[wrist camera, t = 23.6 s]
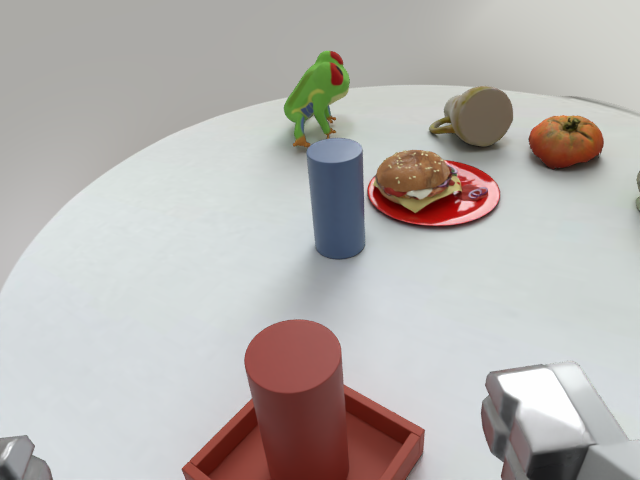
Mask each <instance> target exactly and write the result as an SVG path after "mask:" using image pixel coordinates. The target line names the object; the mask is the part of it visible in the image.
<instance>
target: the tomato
mask: <svg viewBox="0 0 640 480" xmlns="http://www.w3.org/2000/svg"><path fill="white" fill-rule="evenodd" d="M528 140H529V142H530V143H529V145H530V147H531V149H532V152H533V153H534V155H536V156H537V157H539V158H541V160H542V161H543V162H544V163H545V165H546V166H547V167H550V168H551V169H555V167H556V168H564V167H568V166H571V165H573V164H576V163H579V162H581V163H582V162H587V161H589V159H590V160H591V159H592V158H594V157H595V156H597V155H599V153H600V154H601V151H602V148H603V144H604V141H603V137H602V133H601V131H600V130H599V128H598V127H597V126H596V125H595V124H594V123H593V122H591V121H590V120H588V119H586V118H584V117H581V116H564V115H563V116H553V117H550V118H548V119H545V120H544V121H542V122H541V123H540V124H539V125H537V126H536V127H534V128H533V129H532V131H531V133H530V136H529V139H528Z"/></svg>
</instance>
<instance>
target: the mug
mask: <svg viewBox="0 0 640 480" xmlns="http://www.w3.org/2000/svg"><path fill="white" fill-rule="evenodd" d="M444 115H445V118H442V119H440V120H438V121H436V122H434V123H433V124H432V125H431V126H430V127H429V130H430V131H431V132H432V133H434V134H443V133H455V134H457V136H458V137H459V138H460V139H461V140H463V141H464V142H466V143H468V144H471V145H476V146H489V145H491V144H493V143H495V142H497V141H498V140H500V139H501V138H502V137H503V136H504V135H505V133H506V132H507V130H508V129H509V127H510V125H511V123H512V121H513V109H512V104H511V101H510V99H509V98H508V97H507V95H506V94H505V93H504V92H503V91H501V90H499V89H497V88H493V87H489V86H480V87H475V88H472V89H470V90H468V91H466V92H464V93H463V94H462V95H457V96H454V97H452V98H450V99H449V100H448V102H447V103H446V105H445V107H444ZM444 123H451V125H449V126H444V127H440V128H437V127H439V126H440V125H442V124H444Z"/></svg>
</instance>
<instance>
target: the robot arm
mask: <svg viewBox="0 0 640 480" xmlns="http://www.w3.org/2000/svg"><path fill="white" fill-rule="evenodd" d="M485 386H486V388H487V391H488V393H489V395H488V396H487V397H486V398H485V399H484V400H483V401H482V409H481V417H482V426H483V431H484V434H485V438H486V441H487V443H488V446H489V448H490V451H491V453H492V454H493V455H495V456H496V457H497V458H499V459H500V460H501V461H502V462H504V464H503V469H502V473H501V478H502V480H640V440H639V439H637V440H629V438H628V437H627V435H626V434H625V432H624V431H623V429H622V428H621V426H620V425H619V423H618V422H617V420H616V419H615V417H614V416H613V415H612V413H611V412H610V410H609V409H608V407H607V406H606V404H605V403H604V401H603V400H602V398H601V397H600V395H599V394H598V392H597V391H596V389H595V388H594V386H593V385H592V383H591V382H590V380H589V379H588V377H587V376H586V374H585V373H584V371H583V370H582V368H581V367H580V365H578V364H577V363H576V362H574V361H566V362H559V363H552V364H546V365H543V364H539V365H533V366H526V367H519V368H513V369H506V370H499V371H492V372H490V373H489V374H488V375H487V378H486V383H485ZM34 448H35V445H34V444H33V443H32V441H31V440H30V439H29V438H28V436H27V435H24V436H15V437H6V438H0V480H53V479H52V475H51V471H50V468H49V467H48V465H47V463H46V462H45V461H44V460H42V459H40V458H37V457H35V456H33V455H32V453H33V450H34Z"/></svg>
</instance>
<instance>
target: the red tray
mask: <svg viewBox="0 0 640 480" xmlns="http://www.w3.org/2000/svg"><path fill="white" fill-rule="evenodd" d="M344 398H345V412H346V427H347V441H348V455H349V473H348V477H347V480H405V479H406V478H407V476H408V474H409V473H410V471H411V470H412V468H413V467H414V465H415V464H416V462H417V461H418V459H419V458H420V456H421V454H422V453H423V446H424V433H425V430H424V429H422V428H421V427H419V426H417V425H415V424H413V423H412V422H410V421H408V420H406V419H404V418H403V417H401V416H399V415H397V414H396V413H394V412H392V411H390V410H388V409H387V408H385V407H383V406H381V405H379V404H378V403H376V402H374V401H372V400H370V399H369V398H367V397H365V396H363V395H362V394H360V393H358V392H356V391H354V390H353V389H351V388H349V387H347V386H345V385H344ZM182 471H183V474H184V476H185V479H186V480H271V477H270V473H269V468H268V464H267V460H266V455H265V451H264V447H263V442H262V438H261V434H260V429H259V425H258V421H257V416H256V412H255V408H254V403H253V399H251V400H250V401H249V402H248V403H247V404H246V405H245V406H244V407H243V408H242V409H241V410H240V411H239V412H238V413H237V414H236V415H235V416H234V417H233V418H232V419H231V420H230V421H229V422H228V423H227V424H226V425H225V426H224V427H223V428H222V429H221V430H220V431H219V432H218V433H217V434H216V435H215V436H214V437H213V438H212V439H211V440H210V441H209V442H208V443H207V444H206V445H205V446H204V447H203V448H202V449H201V450H200V451H199V452H198V453H197V454H196V455H195V456H194V457H193V458H192V459H191V460H190V462H188V463H187V464H186V465H185V466H184V467H183V468H182Z"/></svg>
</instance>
